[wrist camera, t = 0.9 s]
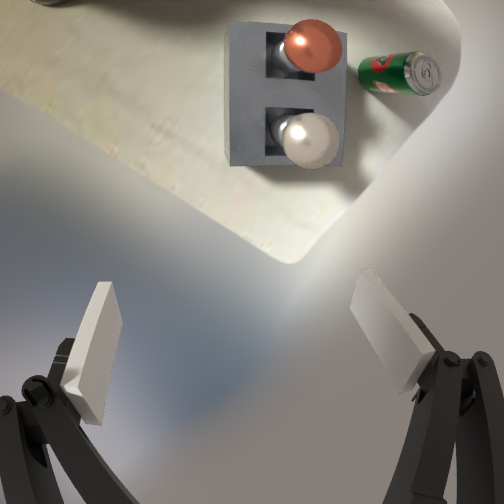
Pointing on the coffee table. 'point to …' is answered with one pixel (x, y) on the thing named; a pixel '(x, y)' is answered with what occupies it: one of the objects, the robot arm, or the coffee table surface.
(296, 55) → the orange light bulb
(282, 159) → the housing
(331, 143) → the white light bulb
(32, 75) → the coffee table surface
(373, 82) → the soda can
